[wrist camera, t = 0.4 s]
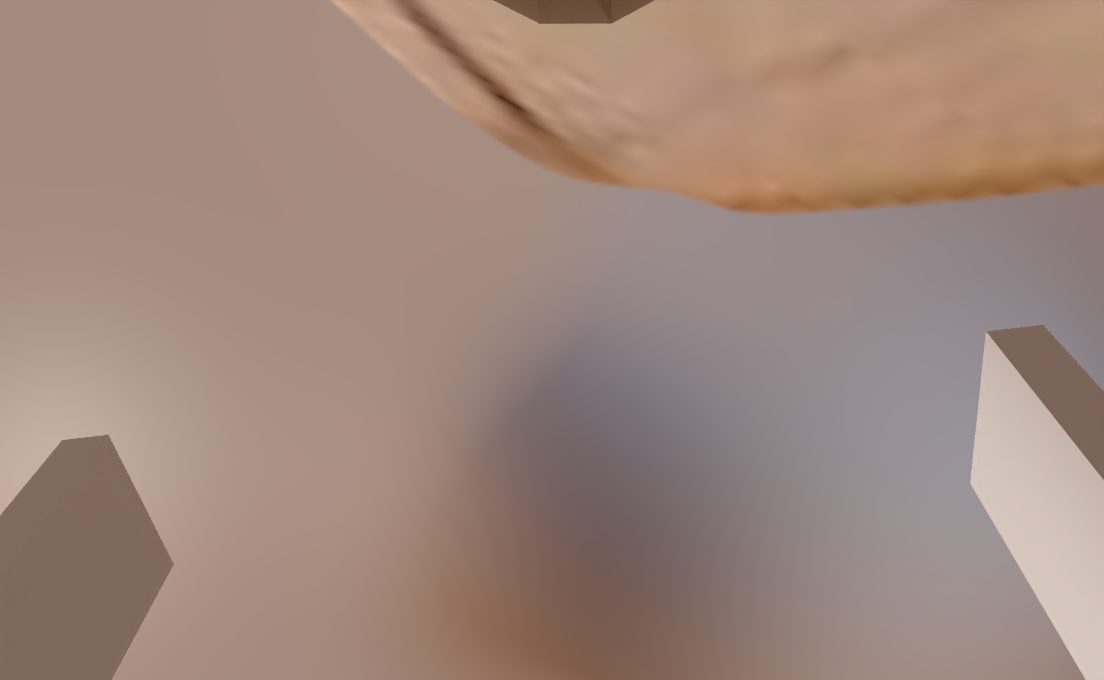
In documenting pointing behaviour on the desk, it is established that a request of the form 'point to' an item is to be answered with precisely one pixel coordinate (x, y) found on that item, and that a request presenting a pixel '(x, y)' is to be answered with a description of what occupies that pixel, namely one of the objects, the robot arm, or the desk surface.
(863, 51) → the desk surface
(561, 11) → the bead
